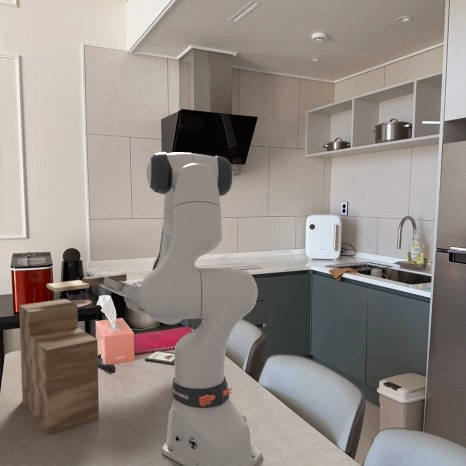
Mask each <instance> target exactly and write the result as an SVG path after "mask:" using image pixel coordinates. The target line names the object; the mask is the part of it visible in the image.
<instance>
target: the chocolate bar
mask: <svg viewBox="0 0 466 466" xmlns="http://www.w3.org/2000/svg"><path fill="white" fill-rule="evenodd" d="M144 361H146V362H151V363H157V364H159V363H160V364H165V365H170V366H171V365H172V366H175V352H173V351H166V350H157V351H155V352H154V353H152V354H150V355H149V356H148V357H146V358H144Z"/></svg>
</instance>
